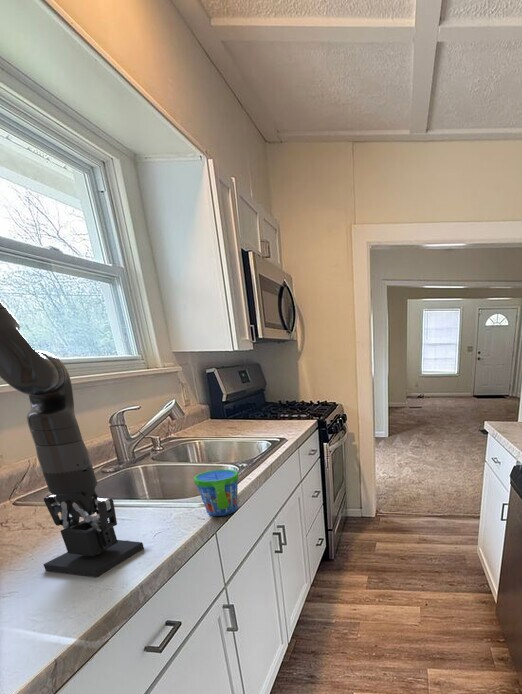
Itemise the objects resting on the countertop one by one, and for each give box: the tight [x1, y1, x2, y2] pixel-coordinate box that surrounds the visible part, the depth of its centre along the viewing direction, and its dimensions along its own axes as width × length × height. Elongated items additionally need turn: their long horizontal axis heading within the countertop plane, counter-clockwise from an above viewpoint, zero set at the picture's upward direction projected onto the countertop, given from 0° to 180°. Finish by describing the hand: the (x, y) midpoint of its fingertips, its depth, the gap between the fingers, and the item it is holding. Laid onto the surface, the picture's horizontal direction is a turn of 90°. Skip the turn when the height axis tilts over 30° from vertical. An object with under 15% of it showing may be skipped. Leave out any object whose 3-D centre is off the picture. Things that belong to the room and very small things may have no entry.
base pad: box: [42, 539, 145, 578], centre depth 82 cm, size 12×12×4 cm
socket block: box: [60, 519, 118, 556], centre depth 80 cm, size 6×6×5 cm
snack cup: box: [193, 469, 240, 517], centre depth 104 cm, size 16×10×10 cm
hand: (92, 545), depth 81 cm, fingers closed on socket block, 6 cm apart
